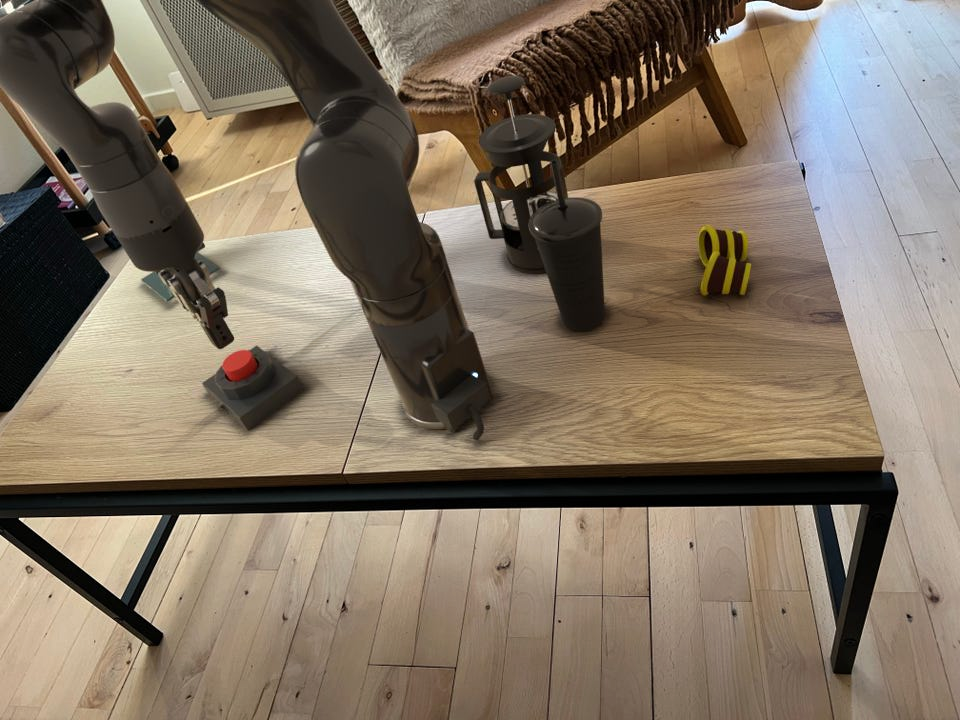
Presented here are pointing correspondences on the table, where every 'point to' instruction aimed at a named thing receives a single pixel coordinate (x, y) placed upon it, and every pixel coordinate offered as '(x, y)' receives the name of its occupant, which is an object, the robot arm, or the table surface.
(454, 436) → the table surface
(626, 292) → the table surface
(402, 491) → the table surface
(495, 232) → the french press
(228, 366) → the button
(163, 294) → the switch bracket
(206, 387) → the button box
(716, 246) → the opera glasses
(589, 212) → the drinking cup
